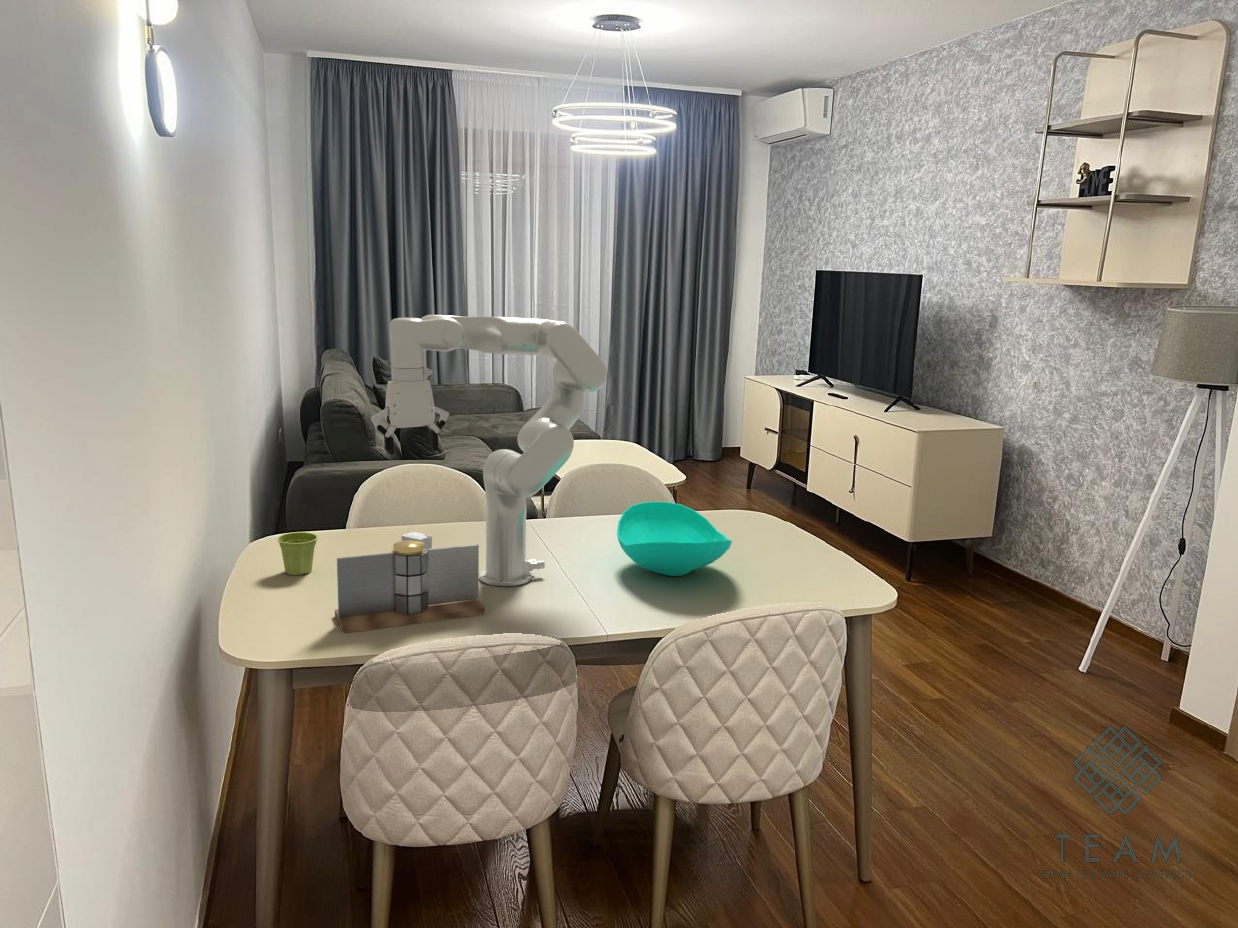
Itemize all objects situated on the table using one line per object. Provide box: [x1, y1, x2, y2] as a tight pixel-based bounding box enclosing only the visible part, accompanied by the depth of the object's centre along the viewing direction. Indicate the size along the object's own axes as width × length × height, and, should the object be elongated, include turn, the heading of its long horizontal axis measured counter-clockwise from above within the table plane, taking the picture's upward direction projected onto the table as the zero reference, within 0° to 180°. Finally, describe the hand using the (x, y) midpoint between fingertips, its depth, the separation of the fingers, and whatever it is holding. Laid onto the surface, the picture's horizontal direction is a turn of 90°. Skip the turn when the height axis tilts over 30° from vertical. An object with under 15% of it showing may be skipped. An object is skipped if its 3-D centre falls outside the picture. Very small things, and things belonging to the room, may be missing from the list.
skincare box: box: [400, 531, 433, 551], centre depth 221 cm, size 6×4×12 cm
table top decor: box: [616, 501, 733, 577], centre depth 237 cm, size 40×28×13 cm
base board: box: [334, 599, 486, 634], centre depth 202 cm, size 30×10×2 cm, turn 116°
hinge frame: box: [336, 548, 429, 618], centre depth 199 cm, size 19×7×13 cm, turn 116°
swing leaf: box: [394, 543, 480, 605], centre depth 203 cm, size 19×7×12 cm, turn 116°
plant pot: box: [276, 531, 319, 576], centre depth 227 cm, size 9×9×9 cm
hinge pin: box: [392, 540, 424, 595], centre depth 201 cm, size 6×6×14 cm
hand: (411, 451), depth 209 cm, fingers open, 9 cm apart
